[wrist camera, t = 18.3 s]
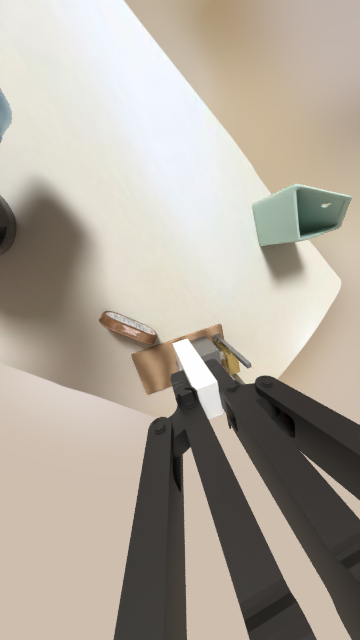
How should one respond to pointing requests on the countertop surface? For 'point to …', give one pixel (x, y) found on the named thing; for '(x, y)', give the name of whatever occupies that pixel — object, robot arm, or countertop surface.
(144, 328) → the tin
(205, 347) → the block
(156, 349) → the board
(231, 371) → the bracket
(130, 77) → the countertop surface
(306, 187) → the planter
